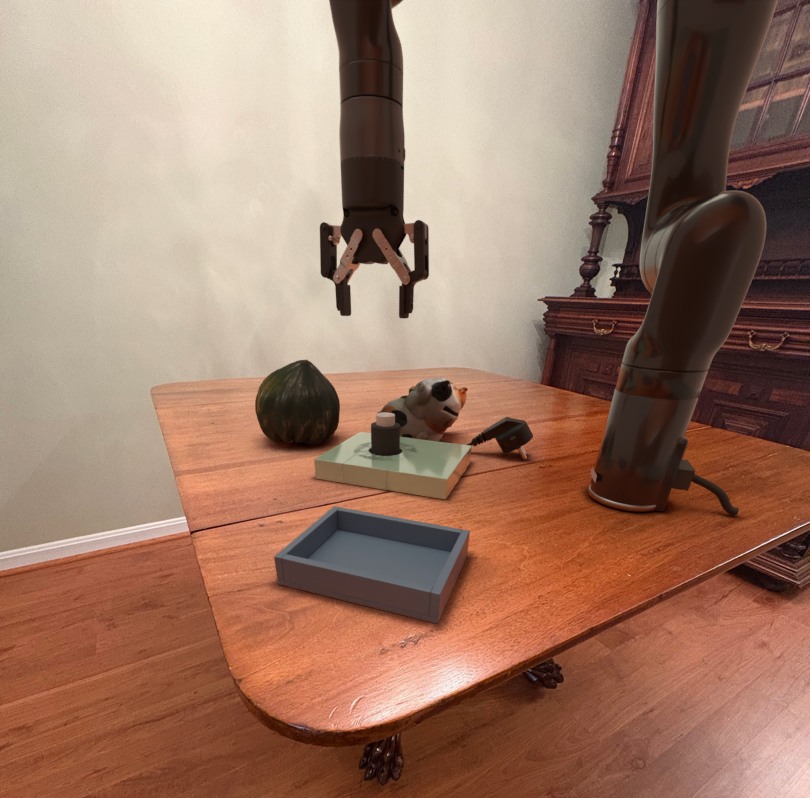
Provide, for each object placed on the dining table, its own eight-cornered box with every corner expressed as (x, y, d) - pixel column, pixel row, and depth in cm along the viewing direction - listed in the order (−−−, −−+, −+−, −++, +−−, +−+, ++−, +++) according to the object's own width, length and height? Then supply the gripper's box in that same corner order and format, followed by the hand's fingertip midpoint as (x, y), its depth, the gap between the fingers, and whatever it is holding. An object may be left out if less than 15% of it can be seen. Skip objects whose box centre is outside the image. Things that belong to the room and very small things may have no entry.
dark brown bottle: (403, 466, 69) (404, 412, 64) (393, 475, 65) (394, 419, 61) (378, 462, 70) (377, 410, 66) (367, 471, 66) (365, 416, 62)
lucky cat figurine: (416, 424, 91) (452, 365, 84) (449, 459, 86) (490, 400, 79) (364, 413, 80) (400, 345, 73) (398, 453, 75) (440, 383, 68)
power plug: (458, 442, 78) (519, 406, 73) (479, 476, 80) (539, 444, 75) (455, 451, 73) (520, 414, 68) (477, 487, 75) (541, 454, 70)
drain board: (470, 463, 71) (472, 445, 69) (445, 499, 57) (447, 479, 56) (360, 448, 76) (360, 431, 75) (315, 478, 63) (313, 459, 62)
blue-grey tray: (467, 556, 45) (470, 530, 43) (437, 624, 35) (440, 594, 34) (335, 529, 49) (333, 505, 48) (277, 584, 40) (273, 556, 38)
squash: (252, 401, 82) (248, 343, 69) (328, 400, 88) (339, 346, 74) (261, 465, 78) (260, 417, 65) (341, 461, 84) (355, 415, 70)
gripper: (302, 156, 49) (314, 316, 57) (421, 147, 45) (416, 320, 53) (332, 172, 55) (339, 314, 63) (439, 166, 51) (432, 318, 59)
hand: (374, 317), depth 58 cm, fingers open, 8 cm apart
